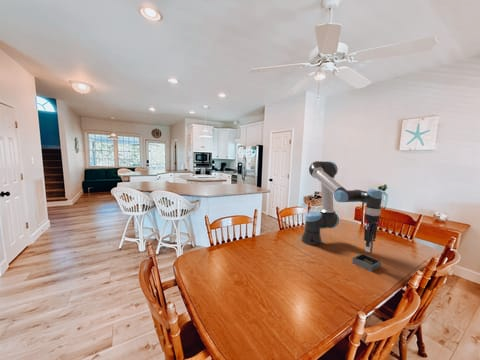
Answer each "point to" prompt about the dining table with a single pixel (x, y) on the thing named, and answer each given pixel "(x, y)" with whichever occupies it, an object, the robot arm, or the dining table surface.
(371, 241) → the curved brown wooden bar
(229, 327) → the dining table surface
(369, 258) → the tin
